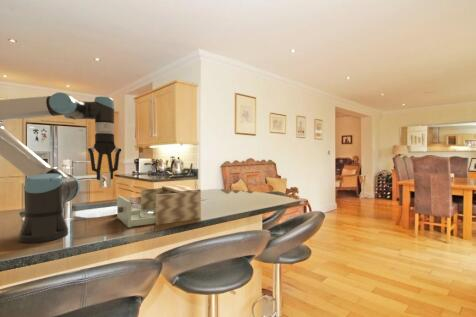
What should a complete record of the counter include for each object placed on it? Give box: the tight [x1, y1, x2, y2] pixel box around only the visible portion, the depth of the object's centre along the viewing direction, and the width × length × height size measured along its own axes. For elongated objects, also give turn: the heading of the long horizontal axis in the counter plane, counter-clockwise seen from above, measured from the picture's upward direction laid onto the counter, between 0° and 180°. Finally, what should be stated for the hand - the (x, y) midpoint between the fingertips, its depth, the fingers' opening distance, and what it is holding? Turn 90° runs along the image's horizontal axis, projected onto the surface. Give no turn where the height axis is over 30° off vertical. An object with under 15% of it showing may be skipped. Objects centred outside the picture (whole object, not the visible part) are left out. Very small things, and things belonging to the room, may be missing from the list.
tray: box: [116, 194, 156, 228], centre depth 128 cm, size 23×23×11 cm
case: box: [140, 184, 202, 226], centre depth 135 cm, size 21×25×14 cm
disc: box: [139, 210, 156, 219], centre depth 129 cm, size 8×8×2 cm
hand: (105, 187), depth 119 cm, fingers open, 3 cm apart
